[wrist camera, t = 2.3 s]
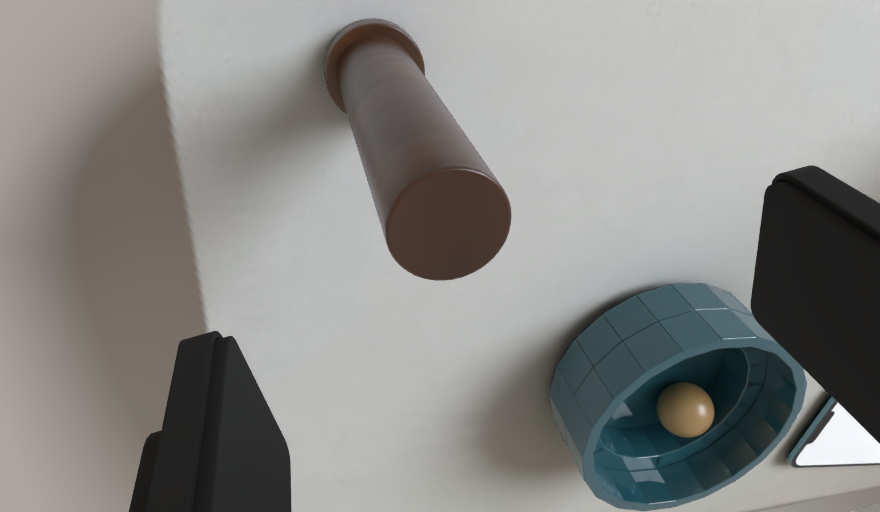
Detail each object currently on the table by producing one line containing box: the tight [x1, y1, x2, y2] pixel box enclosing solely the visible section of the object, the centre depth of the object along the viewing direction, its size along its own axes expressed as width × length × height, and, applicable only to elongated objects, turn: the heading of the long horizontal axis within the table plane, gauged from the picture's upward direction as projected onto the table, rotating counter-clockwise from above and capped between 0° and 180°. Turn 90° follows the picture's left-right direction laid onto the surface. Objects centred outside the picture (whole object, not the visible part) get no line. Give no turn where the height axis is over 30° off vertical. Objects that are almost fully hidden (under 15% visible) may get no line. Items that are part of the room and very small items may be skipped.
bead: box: [656, 382, 714, 438], centre depth 35 cm, size 3×3×3 cm
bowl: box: [549, 283, 807, 511], centre depth 34 cm, size 12×12×5 cm
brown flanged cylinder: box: [324, 19, 511, 280], centre depth 19 cm, size 4×4×12 cm
